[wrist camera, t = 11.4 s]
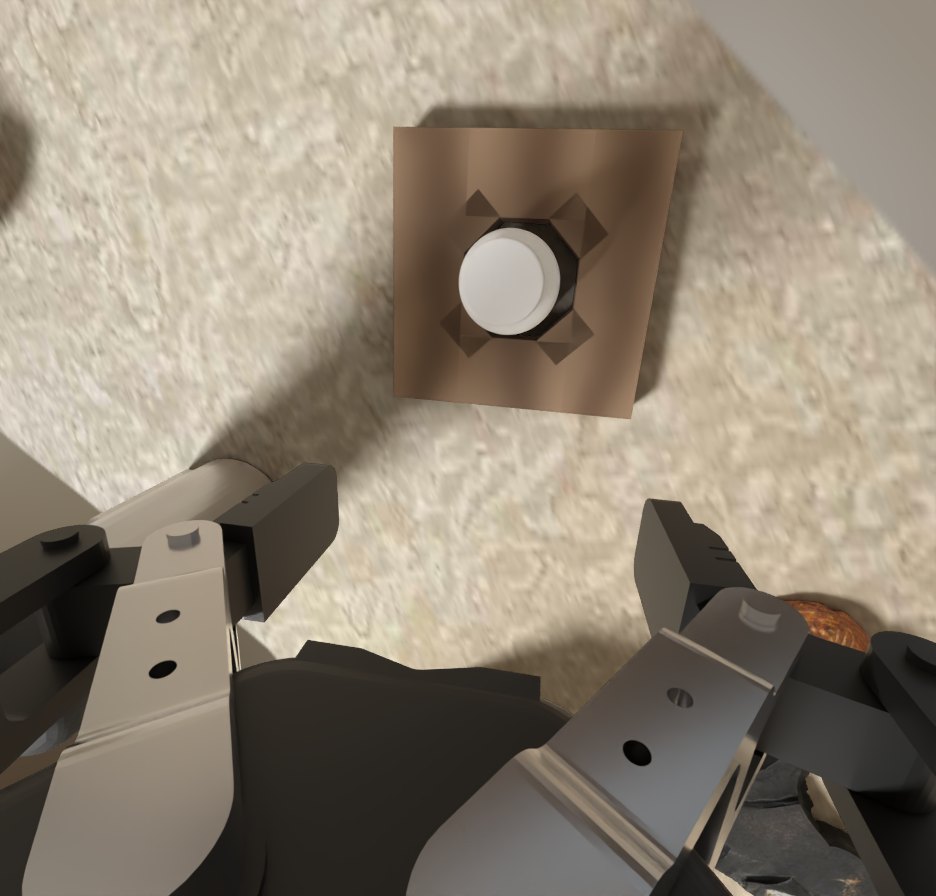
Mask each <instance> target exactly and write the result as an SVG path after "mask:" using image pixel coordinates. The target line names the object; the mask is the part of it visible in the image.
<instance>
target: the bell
mask: <svg viewBox="0 0 936 896" xmlns="http://www.w3.org/2000/svg"><path fill="white" fill-rule="evenodd" d="M785 602H786V603H788V604H789V605H791V606H792V607H794V608H795V609H796V610H797V611H799V612H800V613H801V614H802V616H803V617H804V618H805V619H806V621H807V623H808V625H809V632H808V633H809V634H811V635H813V636H816V637H819V638H822V639H825V640H828V641H831V642H834V643H837V644H841V645H844V646H847V647H850V648H853V649H857V650H860V651H863V652H866V650H867V648H868V645H869V643H870V639H869V637H868V636H867V634H866V633H865V631H864V630H863V629H862V627H861V626H860V625H859V624H857V623H856V622H855V621H854V620H853V619H852V618H851V617H850V616H849V615H847V614H846V613H844V612H842V611H832V610H831V609H829V608H827V607H826V606H824V605H823V604H820V603H817V602H810V601H785ZM825 610H826V611H825ZM823 628H824V629H823ZM845 635H846V636H845ZM858 646H859V647H858Z"/></svg>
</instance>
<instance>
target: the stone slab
mask: <svg viewBox="0 0 936 896" xmlns="http://www.w3.org/2000/svg"><path fill="white" fill-rule="evenodd" d="M809 773H810V772H808V771H806V770H803V769H801V768H799V767H796V766H794V765H792V764H789V763H787V762H785V761H782V760H780V759H777V758H775V757H773V756H770V755H768V754H766V757H765V759H764V761H763V763H762V766H761V768H760V770H759V772H758V774H757V776H756V778H755V780H754V782H753V784H752V786H751V788H750V790H749V792H748V794H747V797H746V799H745V801H744V803H743V805H742V807H741V809H740V811H739V813H738V815H737V817H736V819H735V821H734V823H733V825H732V828H731V830H730V832H729V834H728V836H727V839H726V841H725V843H724V846H723V848H722V851H721V853H720V856H719V858H718V861H717V863H716V866H715V869H717V870H719V871H720V872H722V873H724V874H725V875H726V876H728V877H730V878H732V879H733V880H735V881H736V882H738V884H739V885H741V886H742V887H743V888H744V889H745V890H746V891H748V892H749V893H751V894H752V895H754V896H879V894H878V892H877V890H876V888H875V886H874V884H873V882H872V880H871V878H870V876H869V874H868V872H867V870H866V868H865V866H864V864H863V862H862V860H861V858H860V856H859V854H858V852H857V850H856V848H855V846H854V844H853V842H852V840H851V838H850V836H849V834H847V833H845V832H843V831H842V830H840V829H838V828H835V827H833V826H831V825H829V824H828V823H825V822H822V821H817V820H814V818H813V817H812V814H811V808H812V807H813V802H812V800H811V799H810V796H809V795H808V794H807V792H806V791H807V790H808V788H807V785H806V781H805V778H806V777H807V776H808V775H809Z"/></svg>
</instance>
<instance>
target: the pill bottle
mask: <svg viewBox="0 0 936 896" xmlns="http://www.w3.org/2000/svg"><path fill="white" fill-rule="evenodd" d="M559 289H560V271H559V267H558V263H557V260H556V258H555V256H554V254H553V252H552V251H551V249H550V248H549V246H548V245H547V244H546V243H545V242H544V241H543V240H542V239H541V238H539V237H538V236H536V235H535V234H533V233H531V232H529V231H526V230H522V229H518V228H503V229H498V230H495V231H492V232H490V233H488V234H486V235H485V236H483V237H481V238H480V239H479V240H478V241H477V242H476V243H475V244H474V245H473V246H472V247H471V248H470V250H469V251H468V253H467V254H466V256H465V258H464V260H463V263H462V266H461V269H460V274H459V293H460V297H461V300H462V303H463V306H464V308H465V309H466V311H467V313H468V314H469V316H470V317H471V318H472V319H473V320H474V321H475V322H476V323H477V324H478V325H479V326H481V327H482V328H484V329H486V330H488V331H491V332H493V333H497V334H502V335H514V334H519V333H523V332H525V331H528V330H530V329H532V328H533V327H535V326H536V325H538V324H539V323H540V322H541V321H543V320H544V319H545V318H546V316H547V315H548V314H549V313H550V311H551V310H552V308H553V306H554V304H555V302H556V299H557V297H558V293H559Z"/></svg>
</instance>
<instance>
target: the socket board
mask: <svg viewBox="0 0 936 896" xmlns="http://www.w3.org/2000/svg"><path fill="white" fill-rule="evenodd" d="M682 134H683V130H620V129H536V128H453V127H393V230H394V396H397V397H407V398H418V399H428V400H438V401H448V402H459V403H469V404H479V405H489V406H500V407H510V408H520V409H531V410H541V411H551V412H561V413H572V414H582V415H592V416H602V417H613V418H623V419H631V415H632V410H633V404H634V399H635V393H636V388H637V382H638V377H639V371H640V366H641V360H642V355H643V349H644V344H645V338H646V333H647V327H648V322H649V316H650V311H651V305H652V300H653V294H654V289H655V283H656V278H657V272H658V267H659V261H660V256H661V250H662V244H663V239H664V233H665V228H666V222H667V217H668V211H669V206H670V200H671V195H672V189H673V184H674V178H675V173H676V167H677V162H678V156H679V151H680V145H681V140H682ZM504 222H514V223H538V224H550V225H551V227H552V228H553V229H554V230H555V232H556V233H557V234H558V236H559V237H560V238H561V239H562V241H563V242H564V243H565V244H566V246H567V247H568V248H569V250H570V251H571V252H572V253H573V255H574V256H575V257H576V259H577V260H578V265H577V273H576V281H575V289H574V297H573V305H572V308H571V309H570V310H569V311H567V312H566V313H565V314H564V315H563V316H561V317H560V318H559V319H558V320H557V321H556V322H554V323H553V324H552V325H551V326H550V327H549V328H547V329H546V330H545V331H544V332H543V333H541V334H540V335H539V336H538V337H536V336H523V335H502V334H496V333H493V332H491V331H488V330H486V329H484V328H482V327H481V326H479V325H478V324H477V323H476V322H475V321H474V320H473V319H472V318H471V317H470V316H469V314H468V313H467V311H466V309H465V308H464V306H463V303H462V300H461V297H460V293H459V274H460V269H461V266H462V263H463V260H464V258H465V256H466V254H467V253H468V251H469V250H470V248H471V247H472V246H473V245H474V244H475V243H476V242H477V241H478V240H479V239H480V238H481V237H483V236H485V235H486V234H488V233H490V232H492V231H495V230H497V229H498V228H499V227H500V226H501V225H502V224H503V223H504Z"/></svg>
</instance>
